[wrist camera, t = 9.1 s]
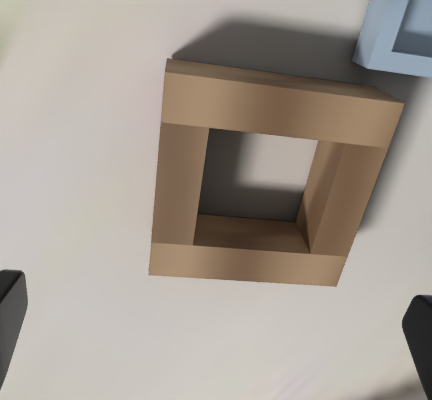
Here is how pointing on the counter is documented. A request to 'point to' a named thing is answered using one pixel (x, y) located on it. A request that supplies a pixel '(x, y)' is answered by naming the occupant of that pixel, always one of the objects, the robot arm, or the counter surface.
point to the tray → (396, 37)
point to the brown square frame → (273, 125)
